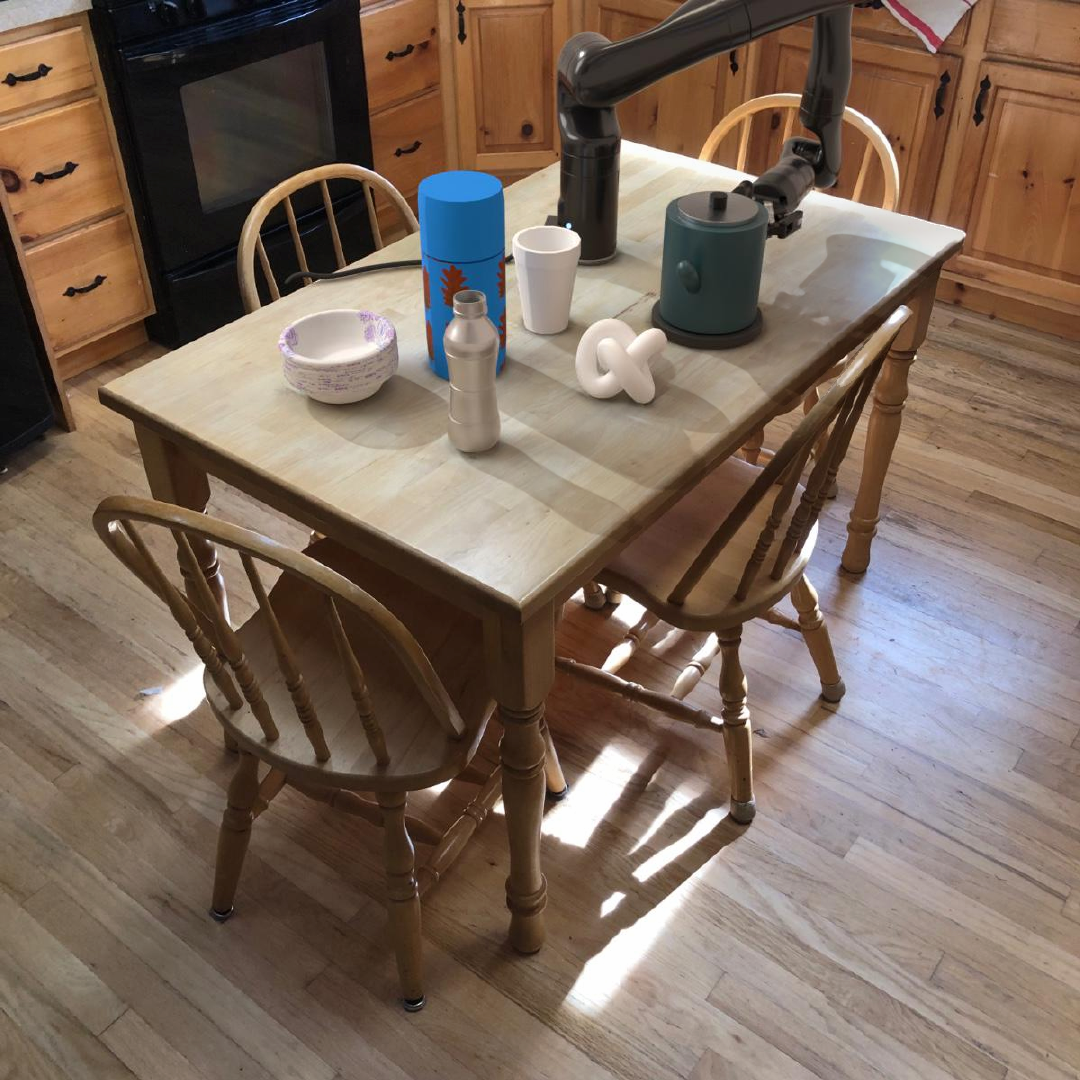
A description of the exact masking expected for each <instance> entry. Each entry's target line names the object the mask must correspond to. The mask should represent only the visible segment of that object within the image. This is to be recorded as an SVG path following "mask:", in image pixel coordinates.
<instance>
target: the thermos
mask: <svg viewBox="0 0 1080 1080" xmlns="http://www.w3.org/2000/svg"><path fill="white" fill-rule="evenodd" d="M503 187H504V186H503V184H502V181H501V180H500V179H499V178H497V177H496V176H494V175H492V174H490V173H489V174H488V173H485V172H481V171H474V170H451V171H445V172H444V171H443V172H439V173H435V174H431V175H430V176H428V177H426V178H424V179H422V180H421V182H420V183H419V185H418V192H417V206H418V224H419V238H420V239H419V240H420V241H419V242H420V255H421V260H422V265H421V270H422V271H421V272H422V285H423V286H422V287H423V288H422V289H423V305H424V321H425V337H426V344H427V353H428V362H429V369H430V370H431V371H432V372H433V374H435V375H436V376H438V377H440V378H441V379H444V380H448V381H450V379H449V370H448V364H447V359H446V354H445V348H444V342H443V338H444V334H445V331H446V329H447V327H448V326H449V324H450V322H451V321H452V320H453V318H454V317H455V316H456V315H455V314H454V313H453V306H454V304H453V297H454V295H455V294H456V293H458V292H460V291H465V290H476V291H480V292H482V293H484V294H485V296H486V305H487V313H486V314H485V315H486V316H487V317H488V318H489V319H490V320H491V321H492V323H493V324H494V325H495V327H496V328H497V331H498V334H499V337H500V342H499V351H498V357H497V364H496V375H498V374H499V373H500V372H502V371H503V369H504V367H505V365H506V357H507V285H506V284H507V283H506V279H507V278H506V277H507V276H506V263H505V257H506V220H505V219H506V218H505V217H506V213H505V212H506V211H505V195H504V188H503Z"/></svg>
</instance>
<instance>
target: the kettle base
mask: <svg viewBox="0 0 1080 1080" xmlns="http://www.w3.org/2000/svg"><path fill="white" fill-rule="evenodd" d="M659 301H660V298H658V299H657V301H656V302H654V304H653V306H652V308H651V319H650V321H651V326H652V328H656V329H660V330H661V331H663V332H664V333H665V336H666V339H667V341H668V342H672V343H674V344H677V345H680V346H683V347H688V348H694V349H700V350H726V349H733V348H737V347H740V346H743V345H746V344H748V343H751V342H752V341H754V340H755V339H756V338H758V336H759V335H760V334H761V331H762V328H763V323H764V322H763V321H764V314H763V313H762V309H761V308H760V307H759V305H758V306H757V314H756V318H755V320H754V321H753V323H752V324H750V325H749V326H747V327H746V328H744V329H741V330H738V331H735V332H730V333H723V334H703V333H696V332H691V331H687V330H683V329H680V328H678V327H675V326H673V325H671V324H670V323H668V322H667V321H666V320H664V319H663V317H662V316H661V315H660V312H659Z"/></svg>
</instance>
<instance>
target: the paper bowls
mask: <svg viewBox="0 0 1080 1080" xmlns="http://www.w3.org/2000/svg"><path fill="white" fill-rule="evenodd" d="M277 346H278V352H279V359H280V362H281V363H280V364H281V369H282V372H283V376H284V379H285V380H286V382H288V383H289V385H291V386H292V387H293V388H296V389H297V390H299V391H301V392H304V393H306V395H307V396H309V397H310V398H312V399H313V400H316V401H318V402H321V403H325V404H332V405H345V404H353V403H356V402H360V401H362V400H363V401H364V400H366V399H367V398H369V397H371V396H373V395H374V394H376V393H377V392H378V391H379V389H381V387H382V385H383V384H384V383H385V382H386V381H388V380H389V379H390V378H391V377H392V376H394V374H395V373H396V372H397V369H398V368H399V363H400V362H399V361H400V358H399V357H400V356H399V347H398V336H397V331H396V328H395V326H394V324H393V323H392V322H391V321H390V320H389V319H387V317H384V316H382V315H381V314H379V313H376V312H373V311H369V310H364V309H357V308H356V309H355V308H338V309H327V310H322V311H317V312H315V313H311V314H308V315H305V316H303V317H300V318H298V319H297V320H294V321H293V322H292V323H290V324H289V325H287V326H286V327H285V329H283V330H282V332H281V334H280V335H279V338H278V341H277Z"/></svg>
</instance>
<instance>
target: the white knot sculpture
mask: <svg viewBox="0 0 1080 1080" xmlns="http://www.w3.org/2000/svg"><path fill="white" fill-rule="evenodd" d="M667 341H668V340H667V339H666V336H665V333H664V332H663V331H661V330H660V329H656V328H653V327H652V328H649V329H647V330H645V331H643V332H641V333H640V334H639V335H638V336H637V334H636V333H635V331H634V330H633V329H632V328H631V327H630V326H629V325H628V324H627V323H625V322H624V321H622V320H619V319H616V318H604V319H600V320H598V321H596V322H595V323H593V324H592V325H590V326H589V327H588V328H587V329H586V331H585V332H584V334H583V335H582V337H581V339H580V341H579V343H578V344H577V345H578V346H577V349H576V353H575V372H576V378H577V381H578V383H579V385H580V387H581V388H582V389H583V391H584V392H585V393H586V394H587V395H589V396H591V397H593V398H597V399H609V398H613V397H615V396H617V395H618V394H619V393H621V392H622V391H625V392H626V394H628V396H629V397H630V398H631V399H632V400H633V401H634V402H635V403H638V404H643V405H644V404H647V403H650V402H652V401H653V399H654V398H655V393H656V386H655V382H654V377H653V375H652V373H651V370H650V368H649V367H650V366H652V364H653V363H655V361H657V359H659V357H660V356H661V355H662V353H664V350H665V349H666V346H667ZM598 364H599V367H600V369H601V371H602V372H603V374H604V375H602V374H601V373H600V371H599V367H598Z"/></svg>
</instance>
